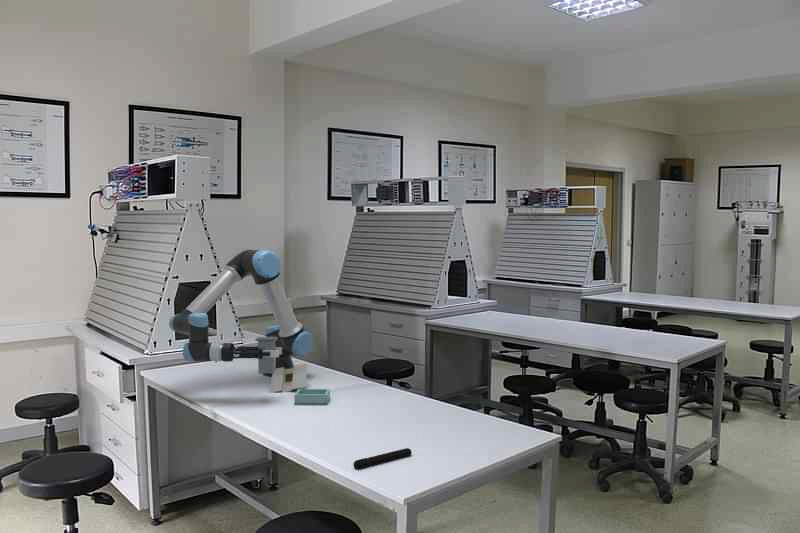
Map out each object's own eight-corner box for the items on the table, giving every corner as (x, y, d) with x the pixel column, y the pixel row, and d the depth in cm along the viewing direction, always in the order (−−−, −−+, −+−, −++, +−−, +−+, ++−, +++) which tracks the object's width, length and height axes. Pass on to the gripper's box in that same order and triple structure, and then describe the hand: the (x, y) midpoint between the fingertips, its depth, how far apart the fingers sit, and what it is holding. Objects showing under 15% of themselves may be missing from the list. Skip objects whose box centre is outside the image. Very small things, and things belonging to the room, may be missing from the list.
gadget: (408, 446, 191) (352, 460, 180) (412, 448, 189) (356, 462, 178) (408, 454, 191) (352, 468, 180) (412, 456, 189) (356, 471, 178)
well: (298, 398, 251) (298, 388, 251) (330, 398, 251) (330, 388, 251) (294, 404, 242) (294, 394, 242) (327, 404, 242) (327, 395, 242)
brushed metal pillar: (258, 370, 250) (258, 336, 249) (278, 370, 250) (277, 336, 249) (256, 373, 245) (255, 338, 244) (275, 373, 245) (275, 338, 244)
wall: (311, 397, 266) (311, 369, 277) (306, 386, 260) (306, 358, 271) (274, 403, 266) (275, 375, 277) (268, 393, 260) (270, 364, 271)
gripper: (229, 356, 256) (284, 356, 256) (216, 366, 239) (275, 366, 238) (229, 338, 256) (284, 339, 255) (215, 347, 238) (275, 347, 238)
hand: (280, 352), depth 247 cm, fingers closed on brushed metal pillar, 4 cm apart
